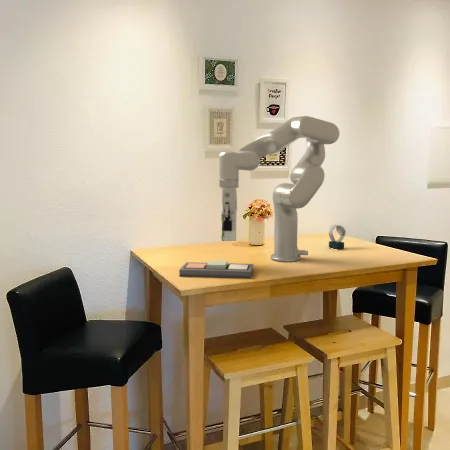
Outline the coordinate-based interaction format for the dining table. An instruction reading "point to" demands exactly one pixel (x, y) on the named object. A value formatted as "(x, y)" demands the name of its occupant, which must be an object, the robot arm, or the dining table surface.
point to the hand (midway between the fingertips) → (228, 228)
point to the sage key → (216, 265)
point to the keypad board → (216, 272)
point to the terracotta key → (195, 266)
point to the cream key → (238, 267)
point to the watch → (338, 243)
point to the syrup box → (232, 234)
